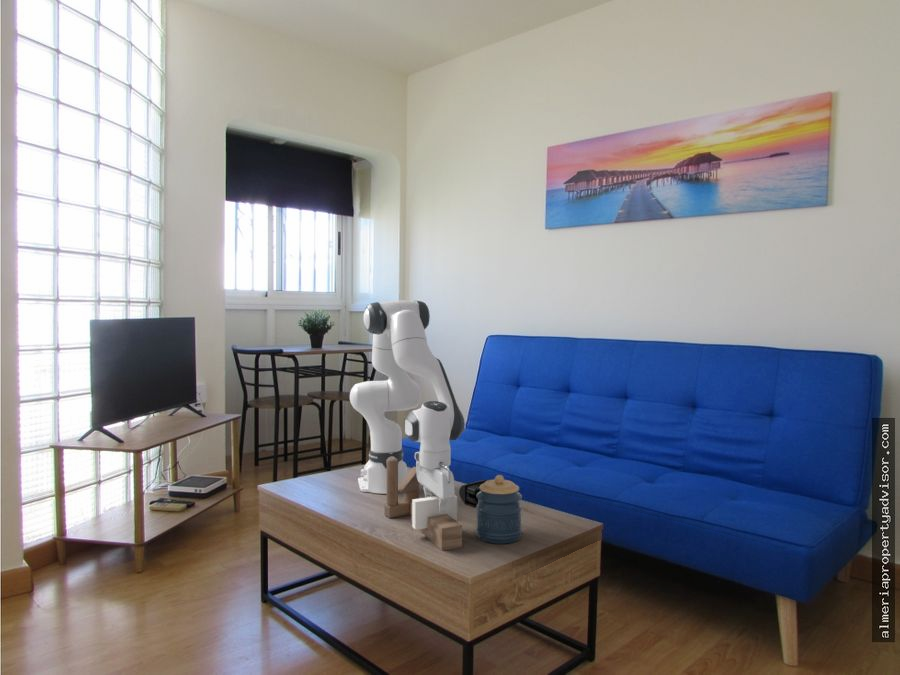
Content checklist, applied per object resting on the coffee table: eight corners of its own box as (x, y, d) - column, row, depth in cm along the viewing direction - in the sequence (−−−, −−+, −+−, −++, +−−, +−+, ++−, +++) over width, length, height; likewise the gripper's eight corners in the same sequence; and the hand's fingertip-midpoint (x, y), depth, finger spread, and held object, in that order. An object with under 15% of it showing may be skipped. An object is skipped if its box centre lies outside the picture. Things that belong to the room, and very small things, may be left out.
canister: (468, 531, 181) (468, 472, 180) (507, 525, 186) (508, 467, 185) (489, 547, 169) (489, 483, 168) (530, 540, 174) (530, 478, 173)
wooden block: (419, 512, 197) (419, 456, 196) (389, 518, 191) (389, 461, 190) (413, 509, 200) (413, 454, 199) (384, 515, 194) (384, 458, 194)
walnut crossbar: (410, 521, 189) (410, 502, 188) (429, 519, 191) (429, 500, 191) (441, 550, 167) (441, 528, 166) (462, 547, 169) (462, 525, 169)
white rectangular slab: (453, 520, 183) (453, 493, 182) (457, 523, 180) (457, 496, 180) (412, 527, 177) (412, 499, 177) (415, 529, 175) (415, 502, 175)
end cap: (480, 497, 214) (480, 477, 213) (495, 502, 208) (495, 482, 208) (458, 503, 207) (458, 483, 207) (473, 508, 202) (473, 487, 201)
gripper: (460, 466, 170) (460, 515, 170) (432, 450, 188) (431, 495, 189) (439, 468, 167) (439, 519, 168) (412, 452, 186) (412, 497, 186)
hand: (435, 506), depth 178 cm, fingers open, 8 cm apart
